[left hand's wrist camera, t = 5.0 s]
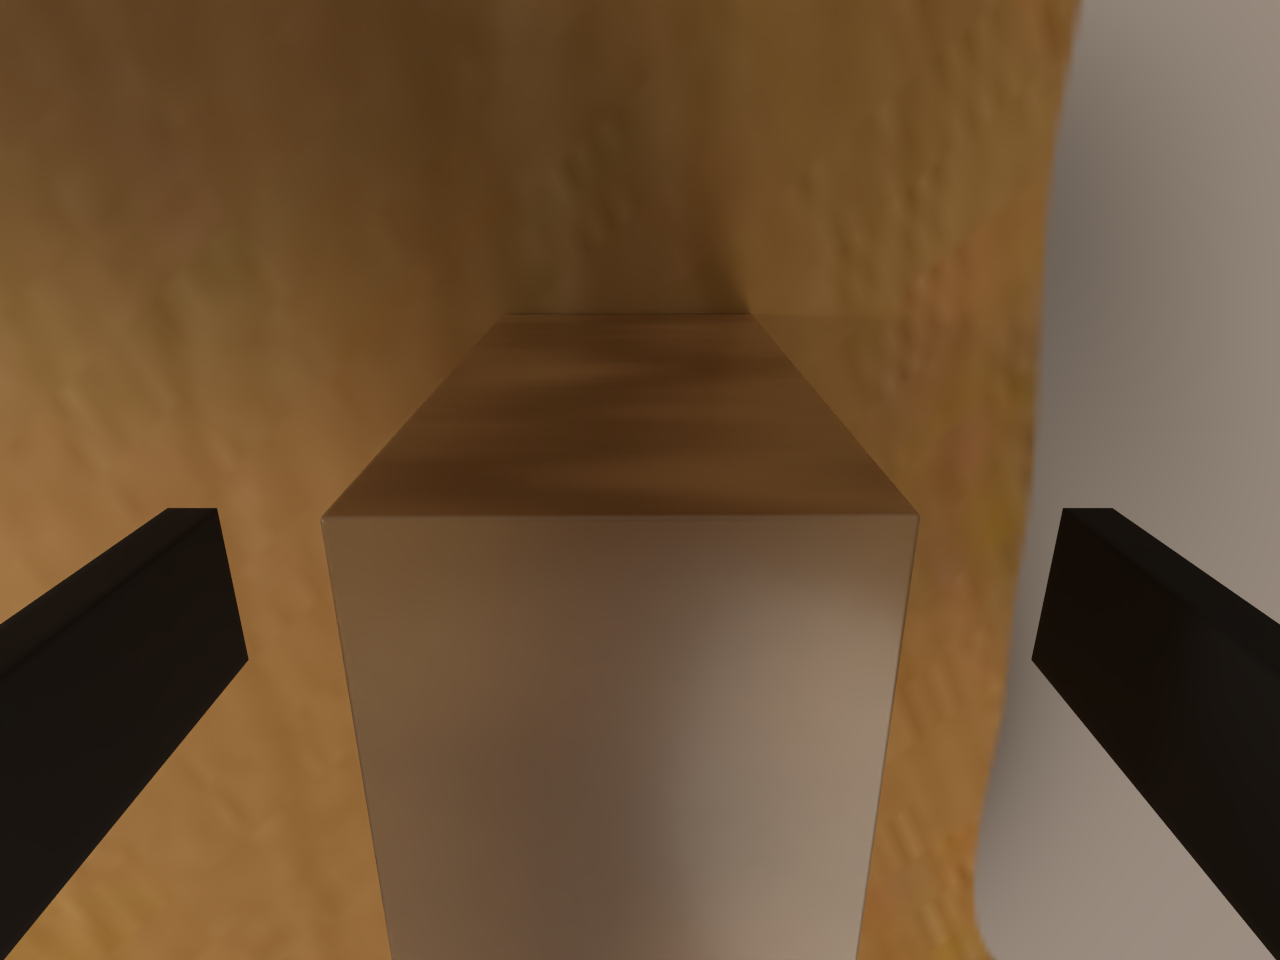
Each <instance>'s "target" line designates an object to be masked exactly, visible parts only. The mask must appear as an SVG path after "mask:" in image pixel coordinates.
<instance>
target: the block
mask: <svg viewBox="0 0 1280 960" xmlns="http://www.w3.org/2000/svg"><path fill="white" fill-rule="evenodd" d="M919 520H920V517H919V514H918V513H917V512H916V510H915V509H914V508H913V507H912V506H911V504H910V503H909V502H908V501H907V500H906V498H905V497H904V496H903V495H902V494H901V492H900V491H899V490H898V489H897V488H896V487H895V485H894V484H893V483H892V482H891V481H890V479H889V478H888V477H887V476H886V475H885V473H884V472H883V471H882V470H881V469H880V467H879V466H878V465H877V464H876V463H875V461H874V460H873V459H872V458H871V457H870V455H869V454H868V453H867V452H866V451H865V450H864V448H863V447H862V446H861V445H860V444H859V442H858V441H857V440H856V439H855V438H854V436H853V435H852V434H851V433H850V432H849V430H848V429H847V428H846V427H845V426H844V424H843V423H842V422H841V421H840V420H839V419H838V417H837V416H836V415H835V414H834V413H833V411H832V410H831V409H830V408H829V407H828V405H827V404H826V403H825V402H824V401H823V399H822V398H821V397H820V396H819V395H818V393H817V392H816V391H815V390H814V389H813V387H812V386H811V385H810V384H809V383H808V382H807V380H806V379H805V378H804V377H803V376H802V374H801V373H800V372H799V371H798V370H797V368H796V367H795V366H794V365H793V364H792V362H791V361H790V360H789V359H788V358H787V356H786V355H785V354H784V353H783V352H782V351H781V349H780V348H779V347H778V346H777V345H776V343H775V342H774V341H773V340H772V339H771V337H770V336H769V335H768V334H767V333H766V331H765V330H764V329H763V328H762V327H761V325H760V324H759V323H758V322H757V321H756V319H755V318H754V317H753V316H752V315H751V314H591V315H503V316H502V317H501V318H500V319H499V320H498V321H497V322H496V323H495V325H494V326H493V327H492V328H491V329H490V330H489V331H488V332H487V333H486V335H485V336H484V337H483V338H482V339H481V340H480V341H479V342H478V343H477V345H476V346H475V347H474V348H473V349H472V350H471V351H470V352H469V354H468V355H467V356H466V357H465V358H464V359H463V360H462V361H461V362H460V364H459V365H458V366H457V367H456V368H455V369H454V370H453V371H452V372H451V374H450V375H449V376H448V377H447V378H446V379H445V380H444V381H443V382H442V384H441V385H440V386H439V387H438V388H437V389H436V390H435V391H434V392H433V394H432V395H431V396H430V397H429V398H428V399H427V400H426V401H425V402H424V404H423V405H422V406H421V407H420V408H419V409H418V410H417V411H416V412H415V414H414V415H413V416H412V417H411V418H410V419H409V420H408V421H407V422H406V424H405V425H404V426H403V427H402V428H401V429H400V430H399V431H398V432H397V434H396V435H395V436H394V437H393V438H392V439H391V440H390V441H389V442H388V444H387V445H386V446H385V447H384V448H383V449H382V450H381V451H380V452H379V454H378V455H377V456H376V457H375V458H374V459H373V460H372V461H371V462H370V464H369V465H368V466H367V467H366V468H365V469H364V470H363V471H362V472H361V474H360V475H359V476H358V477H357V478H356V479H355V480H354V481H353V482H352V484H351V485H350V486H349V487H348V488H347V489H346V490H345V491H344V492H343V494H342V495H341V496H340V497H339V498H338V499H337V500H336V501H335V502H334V504H333V505H332V506H331V507H330V508H329V509H328V510H327V511H326V512H325V514H324V515H323V516H322V518H321V525H322V532H323V538H324V544H325V550H326V556H327V562H328V568H329V575H330V581H331V587H332V593H333V599H334V605H335V611H336V618H337V624H338V630H339V636H340V642H341V648H342V655H343V661H344V667H345V673H346V679H347V685H348V691H349V698H350V704H351V710H352V716H353V722H354V728H355V735H356V741H357V747H358V753H359V759H360V765H361V771H362V778H363V784H364V790H365V796H366V802H367V808H368V814H369V821H370V827H371V833H372V839H373V845H374V851H375V858H376V864H377V870H378V876H379V882H380V888H381V894H382V901H383V907H384V913H385V919H386V925H387V931H388V937H389V944H390V950H391V956H392V960H857V956H858V949H859V942H860V935H861V928H862V921H863V914H864V907H865V900H866V892H867V885H868V878H869V871H870V864H871V857H872V850H873V843H874V836H875V829H876V822H877V815H878V808H879V801H880V794H881V787H882V780H883V773H884V766H885V759H886V752H887V745H888V738H889V731H890V724H891V717H892V710H893V703H894V696H895V689H896V682H897V675H898V668H899V661H900V654H901V647H902V640H903V633H904V626H905V619H906V612H907V604H908V597H909V590H910V583H911V576H912V569H913V562H914V555H915V548H916V541H917V534H918V527H919Z"/></svg>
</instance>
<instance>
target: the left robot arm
mask: <svg viewBox="0 0 1280 960" xmlns="http://www.w3.org/2000/svg"><path fill="white" fill-rule="evenodd" d="M248 660H249V659H248V655H247V650H246V645H245V640H244V635H243V631H242V626H241V621H240V616H239V612H238V607H237V602H236V597H235V592H234V588H233V583H232V578H231V573H230V568H229V564H228V559H227V554H226V549H225V544H224V540H223V535H222V530H221V525H220V520H219V516H218V511H217V508H167V509H166V510H164V511H163V512H161V513H160V514H159V515H157V516H156V517H154V518H153V519H151V520H150V521H148V522H147V523H146V524H144V525H143V526H141V527H140V528H138V529H137V530H135V531H134V532H133V533H131V534H130V535H128V536H127V537H125V538H124V539H123V540H121V541H120V542H118V543H117V544H115V545H114V546H112V547H111V548H110V549H108V550H107V551H105V552H104V553H102V554H101V555H100V556H98V557H97V558H95V559H94V560H92V561H91V562H89V563H88V564H87V565H85V566H84V567H82V568H81V569H79V570H78V571H77V572H75V573H74V574H72V575H71V576H69V577H68V578H66V579H65V580H64V581H62V582H61V583H59V584H58V585H56V586H55V587H53V588H52V589H51V590H49V591H48V592H46V593H45V594H43V595H42V596H41V597H39V598H38V599H36V600H35V601H33V602H32V603H30V604H29V605H28V606H26V607H25V608H23V609H22V610H20V611H19V612H18V613H16V614H15V615H13V616H12V617H10V618H9V619H7V620H6V621H5V622H3V623H2V624H0V960H4V959H5V958H6V956H7V955H8V954H9V953H10V952H11V950H12V949H13V948H14V947H15V945H16V944H17V943H18V942H19V941H20V939H21V938H22V937H23V936H24V934H25V933H26V932H27V931H28V930H29V928H30V927H31V926H32V925H33V923H34V922H35V921H36V920H37V918H38V917H39V916H40V915H41V914H42V912H43V911H44V910H45V909H46V907H47V906H48V905H49V904H50V903H51V901H52V900H53V899H54V898H55V896H56V895H57V894H58V893H59V892H60V890H61V889H62V888H63V887H64V885H65V884H66V883H67V882H68V880H69V879H70V878H71V877H72V876H73V874H74V873H75V872H76V871H77V869H78V868H79V867H80V866H81V865H82V863H83V862H84V861H85V860H86V858H87V857H88V856H89V855H90V853H91V852H92V851H93V850H94V849H95V847H96V846H97V845H98V844H99V842H100V841H101V840H102V839H103V838H104V836H105V835H106V834H107V833H108V831H109V830H110V829H111V828H112V827H113V825H114V824H115V823H116V822H117V820H118V819H119V818H120V817H121V815H122V814H123V813H124V812H125V811H126V809H127V808H128V807H129V806H130V804H131V803H132V802H133V801H134V800H135V798H136V797H137V796H138V795H139V793H140V792H141V791H142V790H143V789H144V787H145V786H146V785H147V784H148V782H149V781H150V780H151V779H152V777H153V776H154V775H155V774H156V773H157V771H158V770H159V769H160V768H161V766H162V765H163V764H164V763H165V762H166V760H167V759H168V758H169V757H170V755H171V754H172V753H173V752H174V751H175V749H176V748H177V747H178V746H179V744H180V743H181V742H182V741H183V739H184V738H185V737H186V736H187V735H188V733H189V732H190V731H191V730H192V728H193V727H194V726H195V725H196V724H197V722H198V721H199V720H200V719H201V717H202V716H203V715H204V714H205V713H206V711H207V710H208V709H209V708H210V706H211V705H212V704H213V703H214V701H215V700H216V699H217V698H218V697H219V695H220V694H221V693H222V692H223V690H224V689H225V688H226V687H227V686H228V684H229V683H230V682H231V681H232V679H233V678H234V677H235V676H236V675H237V673H238V672H239V671H240V670H241V668H242V667H243V666H244V665H245V663H246V662H247V661H248ZM1032 661H1033V662H1034V663H1035V665H1036V666H1037V667H1038V668H1039V670H1040V671H1041V672H1042V673H1043V675H1044V676H1045V677H1046V678H1047V679H1048V681H1049V682H1050V683H1051V684H1052V685H1053V687H1054V688H1055V689H1056V690H1057V692H1058V693H1059V694H1060V695H1061V696H1062V698H1063V699H1064V700H1065V701H1066V703H1067V704H1068V705H1069V706H1070V708H1071V709H1072V710H1073V711H1074V713H1075V714H1076V715H1077V716H1078V717H1079V719H1080V720H1081V721H1082V722H1083V723H1084V725H1085V726H1086V727H1087V728H1088V730H1089V731H1090V732H1091V733H1092V735H1093V736H1094V737H1095V738H1096V739H1097V741H1098V742H1099V743H1100V744H1101V746H1102V747H1103V748H1104V749H1105V750H1106V752H1107V753H1108V754H1109V755H1110V757H1111V758H1112V759H1113V760H1114V762H1115V763H1116V764H1117V765H1118V766H1119V768H1120V769H1121V770H1122V771H1123V773H1124V774H1125V775H1126V776H1127V777H1128V779H1129V780H1130V781H1131V782H1132V784H1133V785H1134V786H1135V787H1136V789H1137V790H1138V791H1139V792H1140V793H1141V795H1142V796H1143V797H1144V798H1145V799H1146V801H1147V802H1148V803H1149V804H1150V806H1151V807H1152V808H1153V809H1154V811H1155V812H1156V813H1157V814H1158V815H1159V817H1160V818H1161V819H1162V820H1163V822H1164V823H1165V824H1166V825H1167V827H1168V828H1169V829H1170V830H1171V831H1172V833H1173V834H1174V835H1175V836H1176V838H1177V839H1178V840H1179V841H1180V842H1181V844H1182V845H1183V846H1184V847H1185V849H1186V850H1187V851H1188V852H1189V853H1190V855H1191V856H1192V857H1193V858H1194V860H1195V861H1196V862H1197V863H1198V865H1199V866H1200V867H1201V868H1202V869H1203V871H1204V872H1205V873H1206V874H1207V876H1208V877H1209V878H1210V879H1211V880H1212V882H1213V883H1214V884H1215V885H1216V887H1217V888H1218V889H1219V890H1220V891H1221V893H1222V894H1223V895H1224V896H1225V898H1226V899H1227V900H1228V901H1229V903H1230V904H1231V905H1232V906H1233V907H1234V909H1235V910H1236V911H1237V912H1238V913H1239V915H1240V916H1241V917H1242V918H1243V920H1244V921H1245V922H1246V923H1247V925H1248V926H1249V927H1250V928H1251V929H1252V931H1253V932H1254V933H1255V934H1256V936H1257V937H1258V938H1259V939H1260V941H1261V942H1262V943H1263V944H1264V945H1265V947H1266V948H1267V949H1268V950H1269V952H1270V953H1271V954H1272V955H1273V956H1274V958H1275V959H1276V960H1280V624H1278V623H1277V622H1275V621H1274V620H1272V619H1271V618H1270V617H1268V616H1267V615H1265V614H1264V613H1262V612H1261V611H1260V610H1258V609H1257V608H1255V607H1254V606H1252V605H1251V604H1250V603H1248V602H1247V601H1245V600H1244V599H1242V598H1241V597H1239V596H1238V595H1237V594H1235V593H1234V592H1232V591H1231V590H1229V589H1228V588H1227V587H1225V586H1224V585H1222V584H1221V583H1219V582H1218V581H1216V580H1215V579H1214V578H1212V577H1211V576H1209V575H1208V574H1206V573H1205V572H1203V571H1202V570H1201V569H1199V568H1198V567H1196V566H1195V565H1193V564H1192V563H1191V562H1189V561H1188V560H1186V559H1185V558H1183V557H1182V556H1180V555H1179V554H1178V553H1176V552H1175V551H1173V550H1172V549H1170V548H1169V547H1168V546H1166V545H1165V544H1163V543H1162V542H1160V541H1159V540H1157V539H1156V538H1155V537H1153V536H1152V535H1150V534H1149V533H1147V532H1146V531H1144V530H1143V529H1142V528H1140V527H1139V526H1137V525H1136V524H1134V523H1133V522H1132V521H1130V520H1129V519H1127V518H1126V517H1124V516H1123V515H1121V514H1120V513H1119V512H1117V511H1116V510H1114V509H1113V508H1063V511H1062V516H1061V521H1060V525H1059V530H1058V535H1057V540H1056V544H1055V549H1054V554H1053V559H1052V564H1051V568H1050V573H1049V578H1048V583H1047V588H1046V592H1045V597H1044V602H1043V607H1042V612H1041V617H1040V621H1039V626H1038V631H1037V636H1036V640H1035V645H1034V650H1033V655H1032Z"/></svg>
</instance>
